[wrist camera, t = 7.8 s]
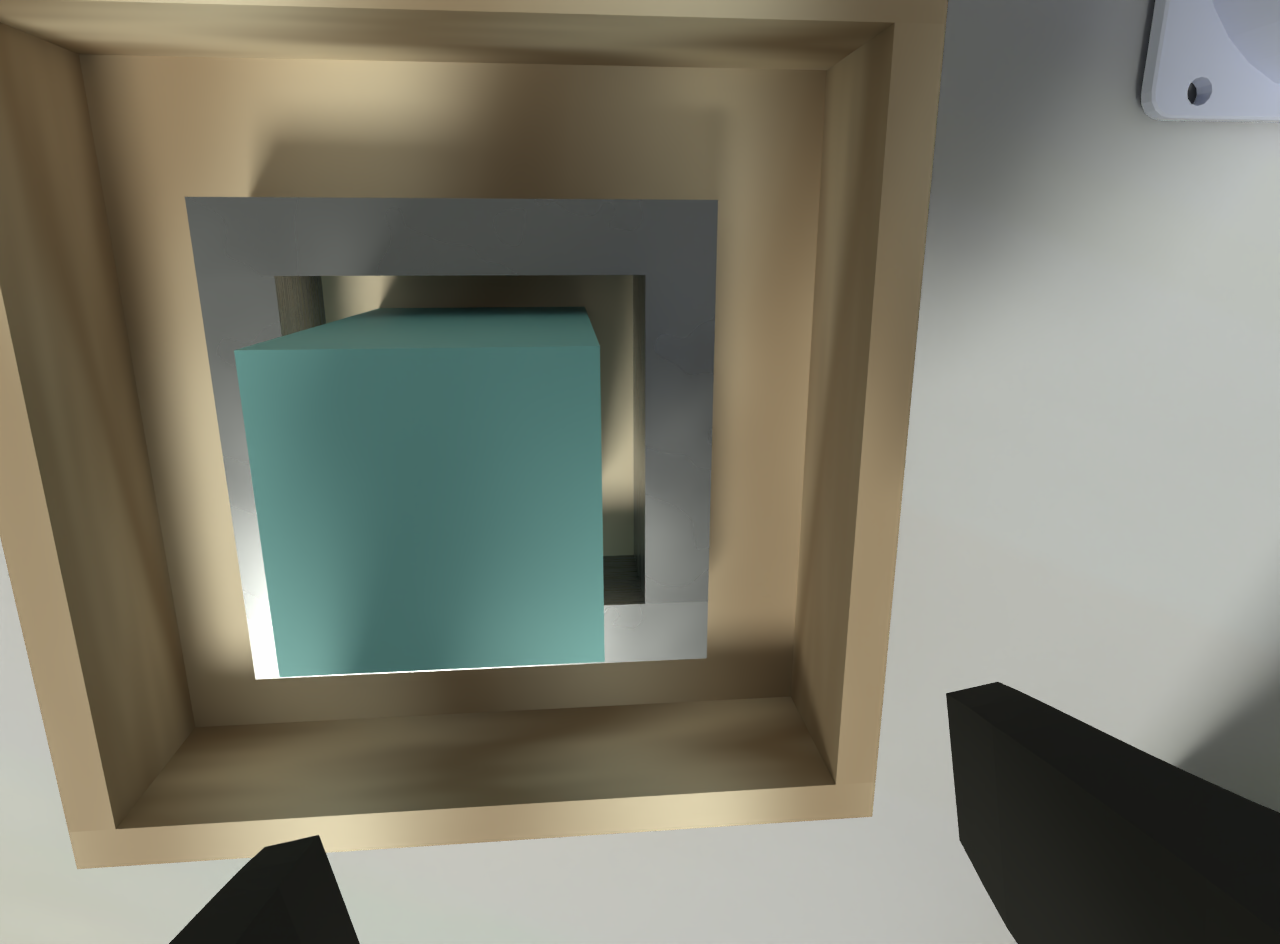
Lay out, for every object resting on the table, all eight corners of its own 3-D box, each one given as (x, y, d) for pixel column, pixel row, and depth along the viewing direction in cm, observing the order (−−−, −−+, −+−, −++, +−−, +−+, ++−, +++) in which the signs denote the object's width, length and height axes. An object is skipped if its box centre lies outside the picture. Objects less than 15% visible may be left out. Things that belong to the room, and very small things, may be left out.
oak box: (855, 35, 16) (951, -36, 12) (811, 705, 20) (872, 817, 16) (49, 14, 14) (-142, -74, 10) (180, 739, 18) (76, 868, 14)
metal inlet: (694, 207, 15) (718, 199, 13) (687, 603, 18) (706, 658, 15) (246, 206, 15) (185, 196, 12) (299, 618, 17) (255, 679, 14)
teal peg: (584, 306, 16) (599, 345, 9) (588, 498, 17) (604, 661, 10) (379, 308, 15) (234, 350, 9) (396, 504, 16) (279, 677, 10)
